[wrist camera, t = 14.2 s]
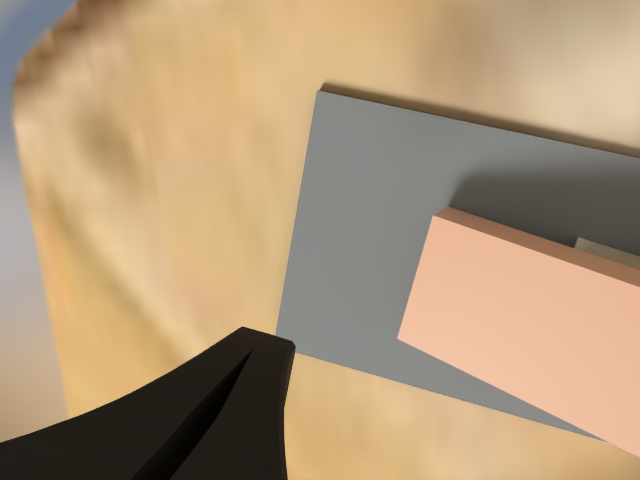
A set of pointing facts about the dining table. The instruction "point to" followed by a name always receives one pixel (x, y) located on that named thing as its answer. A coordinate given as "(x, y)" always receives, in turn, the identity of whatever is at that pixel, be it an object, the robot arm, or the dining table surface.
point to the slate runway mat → (413, 225)
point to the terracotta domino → (532, 321)
